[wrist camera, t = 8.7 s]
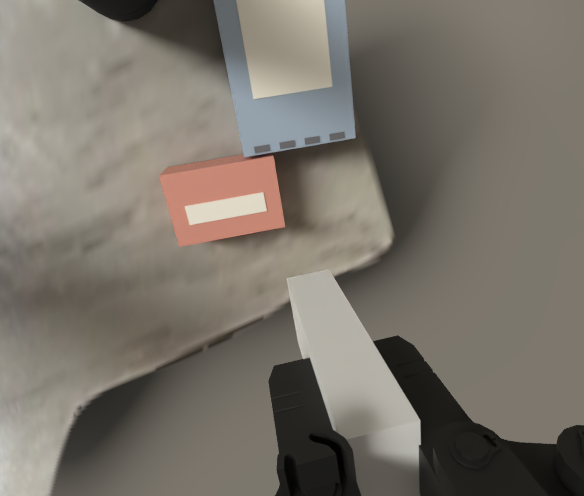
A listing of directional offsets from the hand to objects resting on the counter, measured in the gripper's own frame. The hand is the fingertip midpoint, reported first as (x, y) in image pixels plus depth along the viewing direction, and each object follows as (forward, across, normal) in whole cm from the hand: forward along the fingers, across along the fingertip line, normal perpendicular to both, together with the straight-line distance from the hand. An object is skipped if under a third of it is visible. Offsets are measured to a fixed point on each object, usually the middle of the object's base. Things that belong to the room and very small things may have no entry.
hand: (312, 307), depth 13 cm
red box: (+23, -3, 0) cm, 23 cm away
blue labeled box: (+23, +4, +10) cm, 25 cm away
